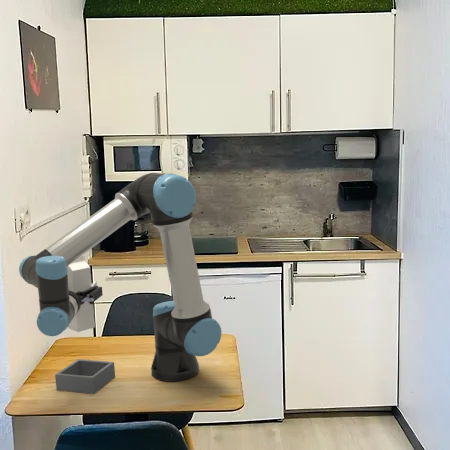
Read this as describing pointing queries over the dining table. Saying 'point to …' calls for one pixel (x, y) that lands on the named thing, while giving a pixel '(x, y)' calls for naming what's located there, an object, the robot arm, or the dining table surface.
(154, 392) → the dining table surface
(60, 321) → the robot arm
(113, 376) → the housing
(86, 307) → the milk
